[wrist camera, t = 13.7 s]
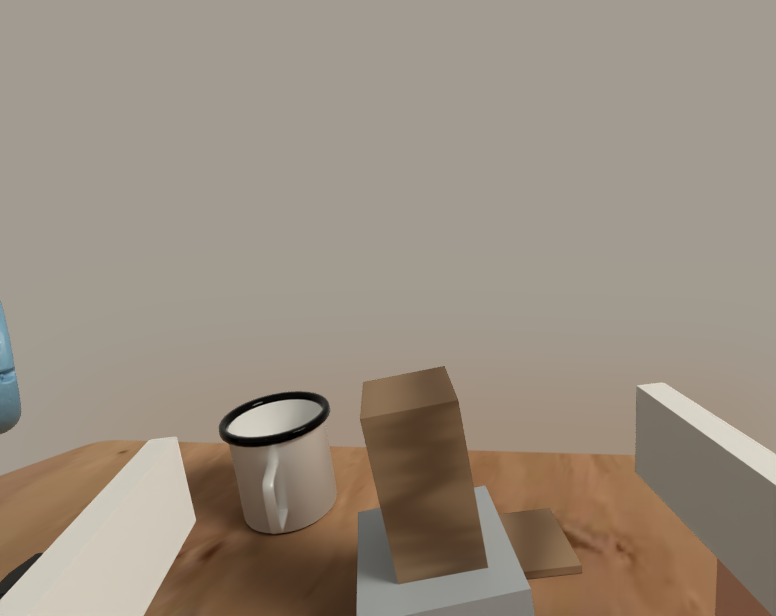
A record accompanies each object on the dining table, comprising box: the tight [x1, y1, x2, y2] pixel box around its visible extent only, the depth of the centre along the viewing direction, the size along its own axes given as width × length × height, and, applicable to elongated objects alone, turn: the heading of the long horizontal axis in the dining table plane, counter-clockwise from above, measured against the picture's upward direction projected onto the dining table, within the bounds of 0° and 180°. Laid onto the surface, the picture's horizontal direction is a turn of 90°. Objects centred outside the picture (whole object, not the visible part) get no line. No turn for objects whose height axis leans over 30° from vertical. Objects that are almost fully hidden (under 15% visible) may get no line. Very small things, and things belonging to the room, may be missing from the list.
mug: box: [219, 391, 337, 534], centre depth 40 cm, size 12×10×9 cm
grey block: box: [357, 486, 535, 616], centre depth 29 cm, size 9×9×5 cm
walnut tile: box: [498, 508, 582, 579], centre depth 34 cm, size 6×6×1 cm
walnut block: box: [360, 366, 488, 584], centre depth 27 cm, size 5×5×10 cm
